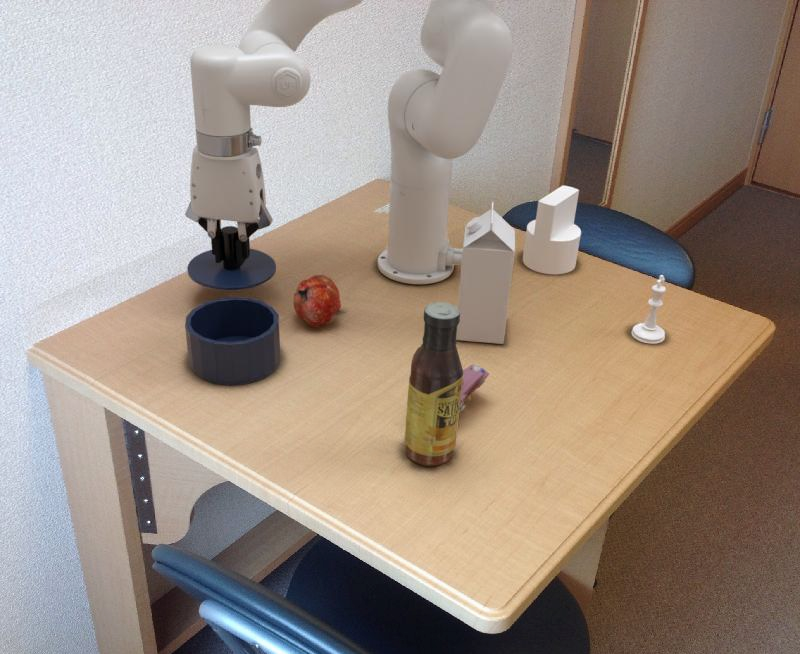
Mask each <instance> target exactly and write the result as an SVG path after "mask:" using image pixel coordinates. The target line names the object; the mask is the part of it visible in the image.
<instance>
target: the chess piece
mask: <svg viewBox="0 0 800 654" xmlns="http://www.w3.org/2000/svg"><path fill="white" fill-rule="evenodd" d="M665 281H666V278H665V275H663V274H660V275H659V277H658V279H657V280H656V282H655V284H653V285H652V286H651V293H652V298H649V299H648V301H647V303H648V304H649V306H650V309H649V312H648V313H647V316H646V319H645V321H644V322H640V323H636V324H635V325H633V327H632V329H631V336H632V337H633V338H634V339H635V340H637V341H638V342H641V343H644V344H648V345H650V344H651V345H657V344H660V343H662V342H663V341H665V339H666V331H665V330H664V329H663V328H662V327H661V326H659V325H658V324H657V319H658V310H659V307H662V306H663V305H664V302H663V300H662V297H663V296H664V294H666V291H667V288H666V287H665V286H664V285H663V283H664V282H665Z"/></svg>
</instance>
